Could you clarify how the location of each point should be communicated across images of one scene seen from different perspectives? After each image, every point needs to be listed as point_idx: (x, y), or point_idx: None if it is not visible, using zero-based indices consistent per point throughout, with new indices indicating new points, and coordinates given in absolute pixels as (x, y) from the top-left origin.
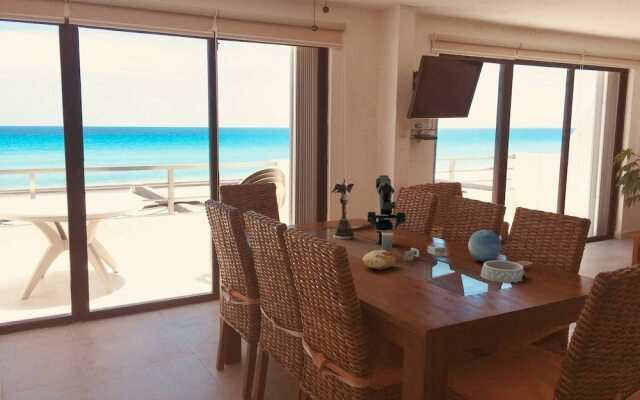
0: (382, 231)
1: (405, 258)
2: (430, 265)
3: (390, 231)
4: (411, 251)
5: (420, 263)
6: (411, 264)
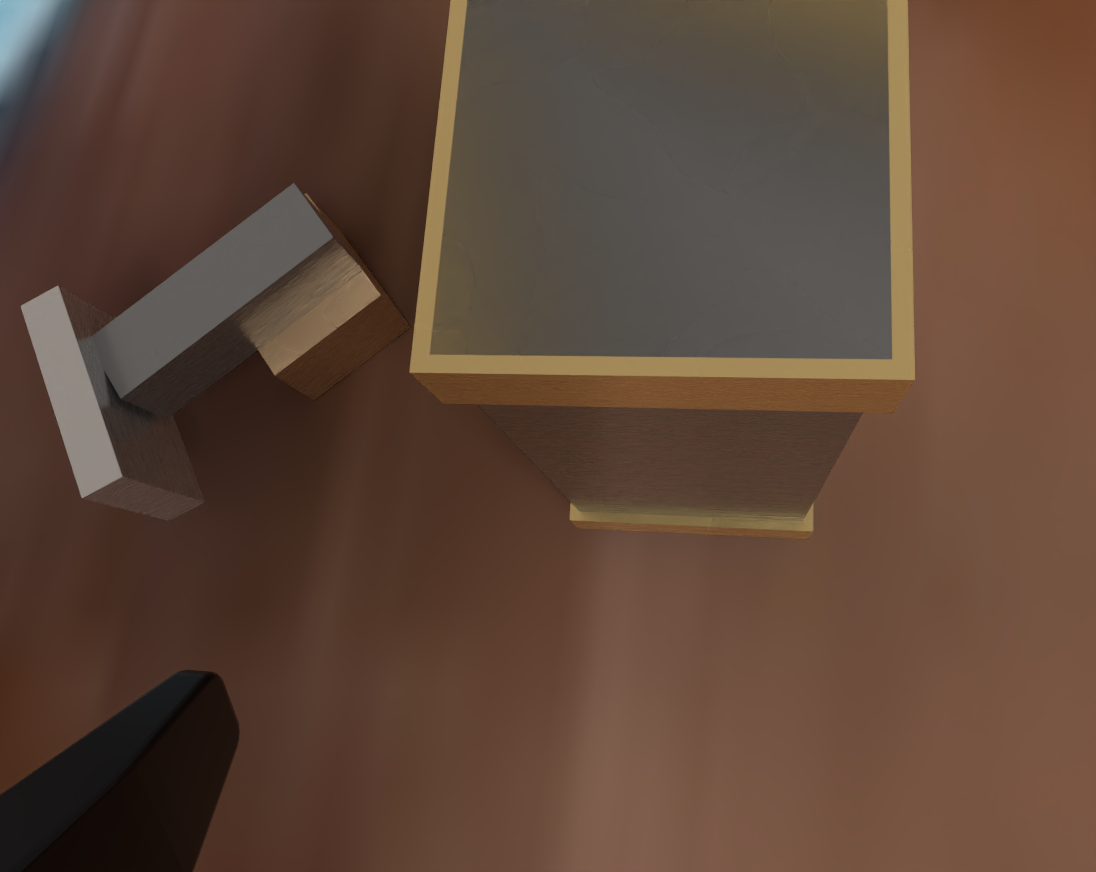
0: (885, 190)
1: (363, 266)
2: (83, 40)
3: (506, 231)
4: (182, 292)
5: (187, 131)
6: (334, 58)
